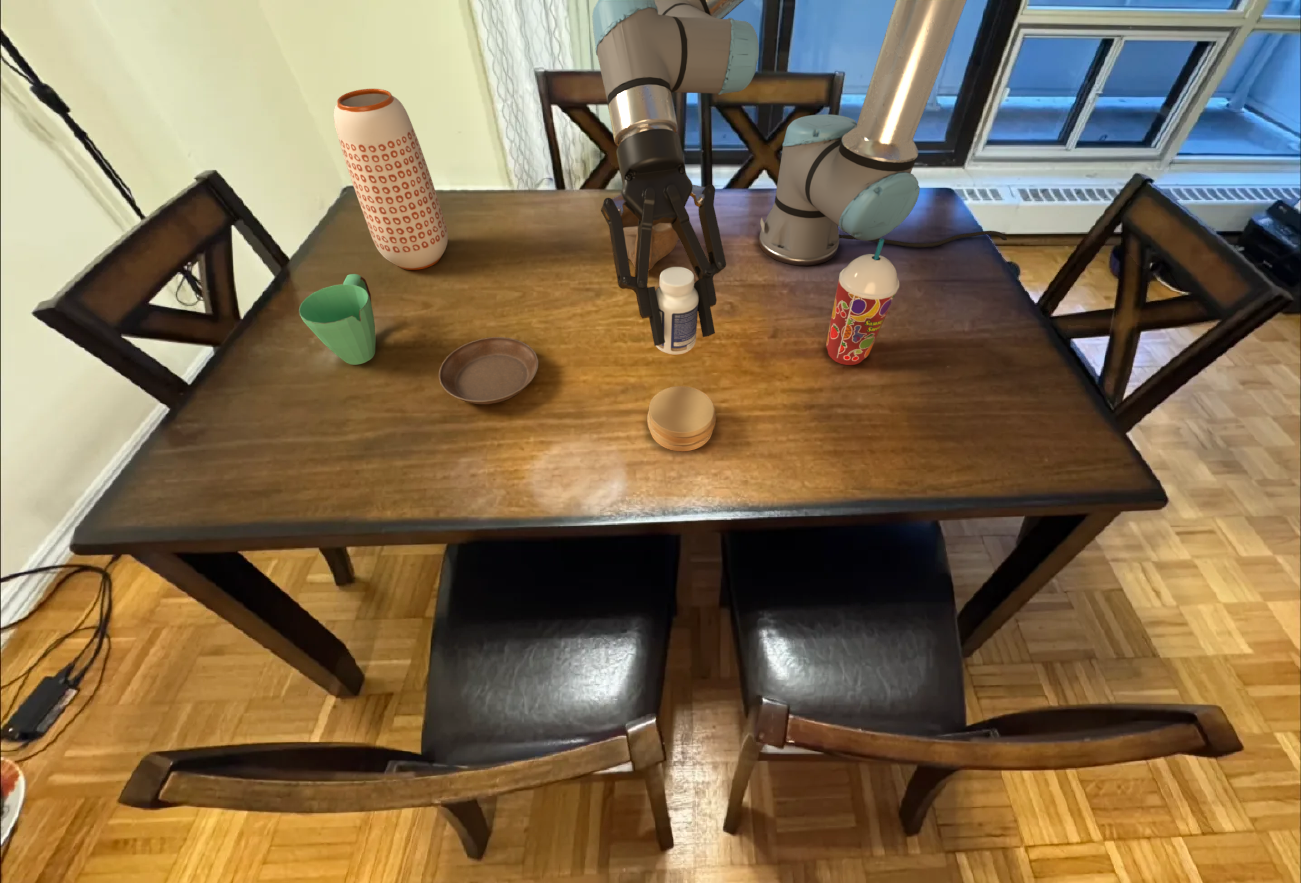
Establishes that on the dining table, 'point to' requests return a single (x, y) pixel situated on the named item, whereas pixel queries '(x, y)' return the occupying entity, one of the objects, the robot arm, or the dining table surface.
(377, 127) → the patterned vase
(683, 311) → the pill bottle
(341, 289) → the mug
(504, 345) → the saucer
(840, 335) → the smoothie
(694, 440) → the coaster stack
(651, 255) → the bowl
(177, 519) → the dining table surface
